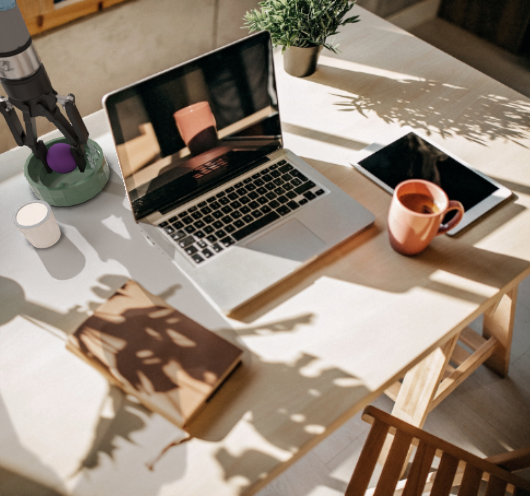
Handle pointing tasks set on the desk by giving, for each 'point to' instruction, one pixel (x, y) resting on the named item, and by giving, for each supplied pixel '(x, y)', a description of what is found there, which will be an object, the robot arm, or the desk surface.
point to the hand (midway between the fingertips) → (67, 168)
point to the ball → (61, 158)
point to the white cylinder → (37, 223)
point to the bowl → (68, 177)
